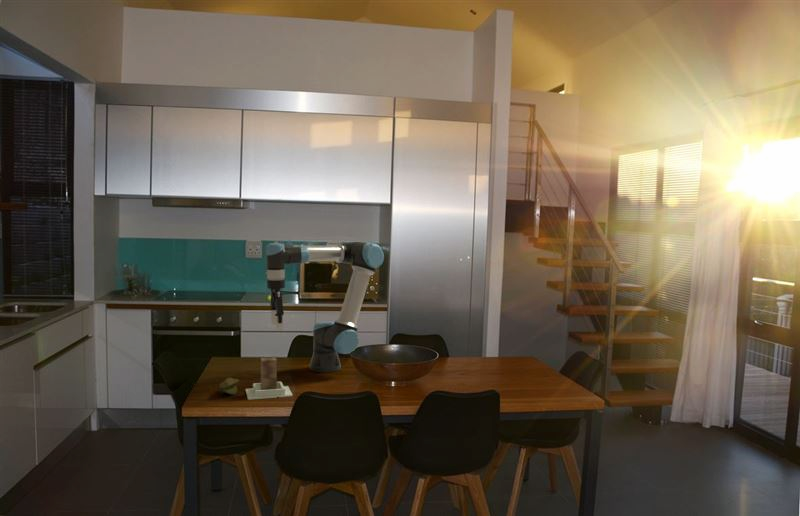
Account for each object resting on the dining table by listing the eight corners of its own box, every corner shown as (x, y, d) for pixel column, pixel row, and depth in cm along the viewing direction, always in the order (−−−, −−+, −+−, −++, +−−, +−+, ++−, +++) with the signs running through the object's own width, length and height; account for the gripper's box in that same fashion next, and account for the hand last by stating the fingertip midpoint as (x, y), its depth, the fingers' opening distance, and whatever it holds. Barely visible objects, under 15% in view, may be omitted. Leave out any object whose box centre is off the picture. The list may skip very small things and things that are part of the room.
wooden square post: (275, 389, 261) (275, 357, 260) (276, 393, 257) (276, 359, 256) (260, 390, 259) (260, 358, 259) (261, 394, 255) (262, 360, 254)
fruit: (247, 394, 257) (247, 378, 256) (220, 399, 249) (220, 383, 248) (235, 388, 265) (235, 373, 265) (208, 393, 257) (208, 377, 257)
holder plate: (287, 387, 268) (288, 380, 267) (292, 396, 254) (292, 389, 254) (245, 390, 262) (245, 383, 262) (248, 399, 249) (248, 392, 248)
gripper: (263, 276, 276) (264, 323, 278) (271, 283, 253) (273, 333, 255) (279, 275, 279) (281, 321, 280) (289, 282, 255) (291, 332, 257)
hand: (277, 327), depth 268 cm, fingers open, 13 cm apart
